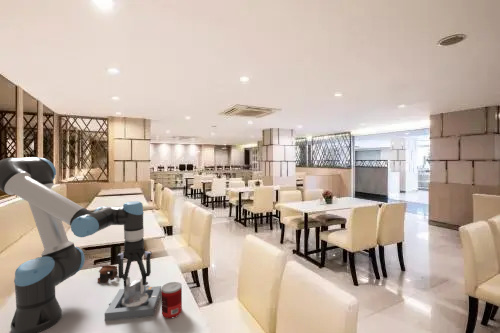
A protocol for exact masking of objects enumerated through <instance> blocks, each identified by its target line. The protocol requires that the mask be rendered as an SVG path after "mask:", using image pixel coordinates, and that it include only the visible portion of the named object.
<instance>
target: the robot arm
mask: <svg viewBox="0 0 500 333" xmlns="http://www.w3.org/2000/svg"><path fill="white" fill-rule="evenodd" d="M56 175H57V170H56V167H55V165H54V163H53V162H52V161H51V160H49V159H47V158H44V157H37V156H31V157H30V156H29V157H7V158H3V159H1V160H0V191H1V192H3V193H5V194H7V195H11V196H17V197H18V198H21V199H22V200H24V201H26V202H27V203H28V205H29V208H30V210H31V214H32V217H33V219H34V222H35V226H36V228H37V231H38V233H39V235H38V236H39V237H40V241H41V244H42V246H43V251H42V252H41V254H40V255H41V256H40V257H35V258H33V259H30V260H29V259H28V260H27V261H25V262H24V263H23V262H22V264H19V266H18V267H16V269H15V271H14V280H13V282H14V290H15V291H14V292H15V293H14V294H15V311H14V314H13V317H12V321H11V323H10V332H12V333H36V332H37V333H40V332H43V331H45V330H47V329H48V328H49V329H50V327H52V326H54V325H55V324H57V323H58V322H59V321H60V320H61V318H62V316H63V314H62V313H63V312H62V308H61V305H60V304H59V302H58V299H57V298H56V286H58V285H60V284H61V283H63V282H64V281H66V280H67V279H69V278H71V277H73V276H74V275H76V274H77V273H78V272H79V271H81V270H82V268H83V266H84V265H85V260H86V257H85V253H84V251H83V250H82V249H81V248H79V247H78V246H75V244H74V241H70V240H69V238H68V236H67V233H66V231H65V227H64V223H65V224H67V225H69V226H70V231H71V232H72V233H73V235H75V237H78V238H86V237H89V236H93V235H94V234H96V233H97V232H100V231H102V230H104V229H106V228H108V227H110V226H123V239H124V242H123V243H124V248H123V249H124V251H123V252H121V253H120V252H119V253H118V254H117V255H116V259H117V264H118V266H117V272H118V274H117V275H118V279H122V280H123V287H124V286H126V285H128V284H130V283H131V277H130V276H129V273H130V268H131V265H132V262H137V266H138V268H139V271H140V274H141V276H140V278H141V279H140V284H141V294H143V292H144V285H145V284H146V282H147V277H150V276H151V272H152V271H151V264H152V263H151V256H152V251H150V250H149V251H146V249H145V238H144V237H145V235H144V234H145V233H144V230H145V229H144V205H143V203H142V202H141V201H137V200H134V201H127V202H125V203H123V205H122V206H107V205H106V206H98V207H96V208H95V210H94V211H91V210H89V209H87V208H85V207H83V206H81V205H80V204H78V203H76V202H74V201H73V200H71V199H70V198H68V197H66V196H64V195H62V194H60V193H58V192H57V191H55V190H54V189H52V187H54V185H55V184H54V179H55V178H56ZM63 222H64V223H63ZM143 256H144V257H145V258H146V259H145V262H146V263H145V264H146V266H145V265H144V262H143ZM124 258H126V260H127V261H126V265H125V270H124Z"/></svg>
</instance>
